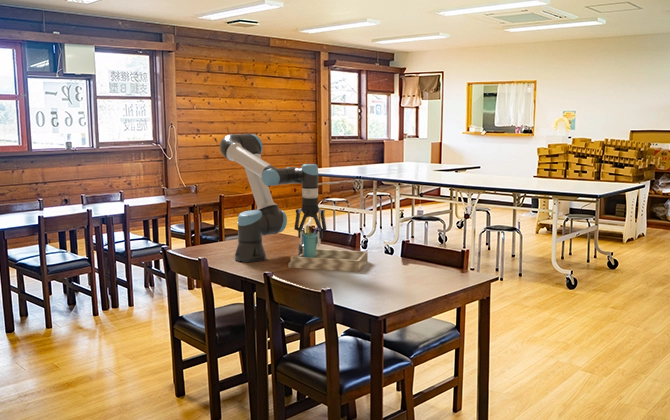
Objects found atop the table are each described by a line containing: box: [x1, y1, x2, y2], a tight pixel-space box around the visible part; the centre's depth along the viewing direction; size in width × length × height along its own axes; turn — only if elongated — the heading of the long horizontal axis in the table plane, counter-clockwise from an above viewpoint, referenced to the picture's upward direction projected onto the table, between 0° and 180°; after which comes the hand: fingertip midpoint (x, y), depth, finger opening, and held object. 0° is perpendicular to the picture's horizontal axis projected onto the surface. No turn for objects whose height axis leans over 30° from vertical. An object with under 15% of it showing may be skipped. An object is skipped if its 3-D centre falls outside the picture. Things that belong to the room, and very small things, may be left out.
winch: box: [297, 243, 304, 257], centre depth 314 cm, size 7×5×8 cm
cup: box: [303, 225, 321, 257], centre depth 296 cm, size 14×8×15 cm, turn 37°
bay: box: [287, 248, 369, 273], centre depth 295 cm, size 33×20×5 cm, turn 76°
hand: (310, 245), depth 296 cm, fingers closed on cup, 8 cm apart
